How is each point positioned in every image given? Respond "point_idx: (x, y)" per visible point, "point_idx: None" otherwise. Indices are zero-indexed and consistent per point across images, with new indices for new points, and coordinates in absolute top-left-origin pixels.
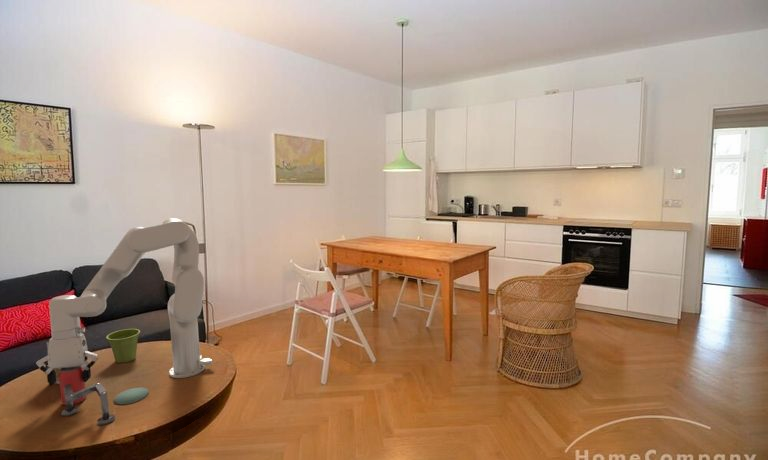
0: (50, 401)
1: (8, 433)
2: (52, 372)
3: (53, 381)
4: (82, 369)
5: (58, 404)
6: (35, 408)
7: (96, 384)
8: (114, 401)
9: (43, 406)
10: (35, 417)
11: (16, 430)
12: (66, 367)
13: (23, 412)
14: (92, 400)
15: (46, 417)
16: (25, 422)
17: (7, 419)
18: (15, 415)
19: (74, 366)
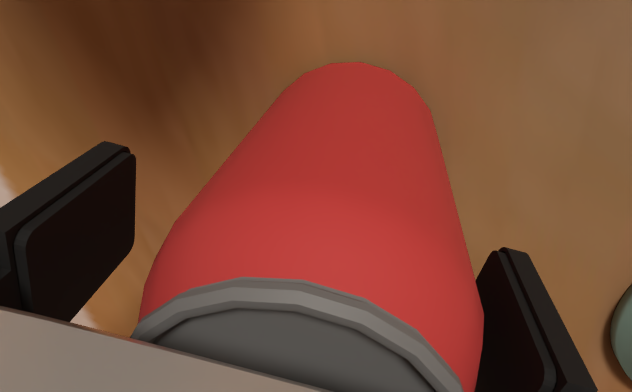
0: (165, 34)
1: (103, 330)
2: (15, 303)
3: (116, 227)
4: (475, 385)
5: (245, 135)
6: (102, 107)
7: None
8: (612, 328)
9: (147, 105)
10: (161, 244)
11: (127, 324)
12: (194, 339)
13: (49, 127)
14: (476, 215)
15: None
16: (132, 270)
17: (3, 174)
18: (21, 144)
19: (343, 378)
